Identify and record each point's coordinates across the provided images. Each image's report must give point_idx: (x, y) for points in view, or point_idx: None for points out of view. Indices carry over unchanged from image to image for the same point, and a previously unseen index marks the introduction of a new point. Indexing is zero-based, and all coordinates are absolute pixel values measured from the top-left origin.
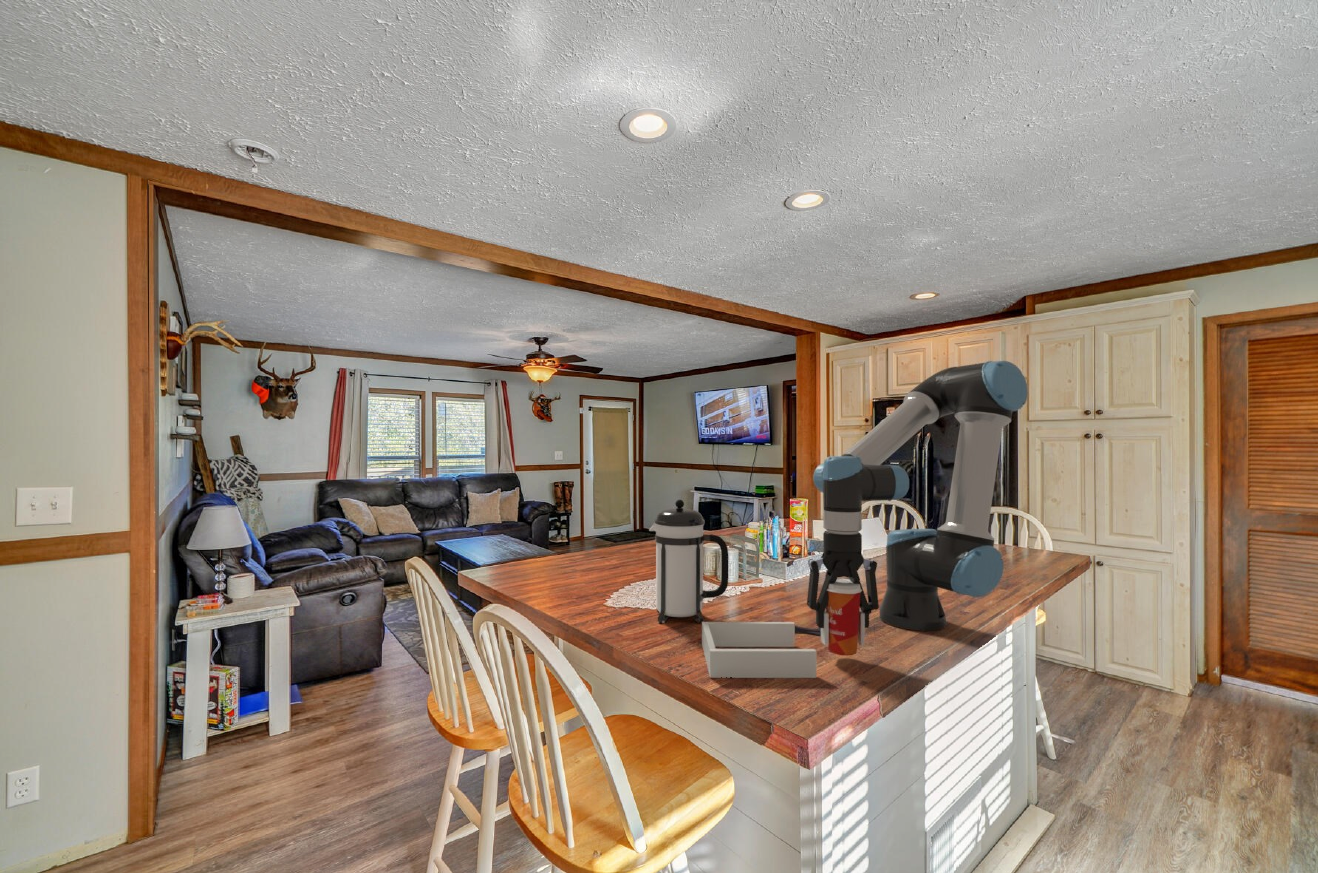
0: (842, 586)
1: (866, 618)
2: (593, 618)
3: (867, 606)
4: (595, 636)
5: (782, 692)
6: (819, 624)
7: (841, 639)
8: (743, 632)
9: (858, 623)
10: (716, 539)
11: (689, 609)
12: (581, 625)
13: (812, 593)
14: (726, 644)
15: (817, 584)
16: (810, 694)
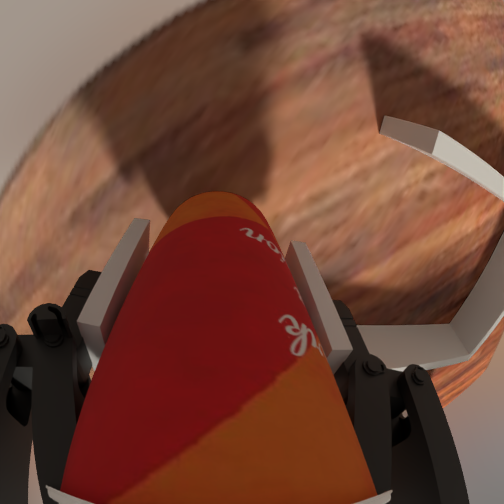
0: None
1: (77, 306)
2: (462, 385)
3: (42, 357)
4: (497, 343)
5: (480, 88)
6: (345, 312)
7: (256, 223)
8: (419, 348)
9: (136, 279)
10: None
11: (406, 412)
12: (482, 367)
13: (449, 442)
14: (431, 327)
15: (446, 500)
16: (440, 45)
